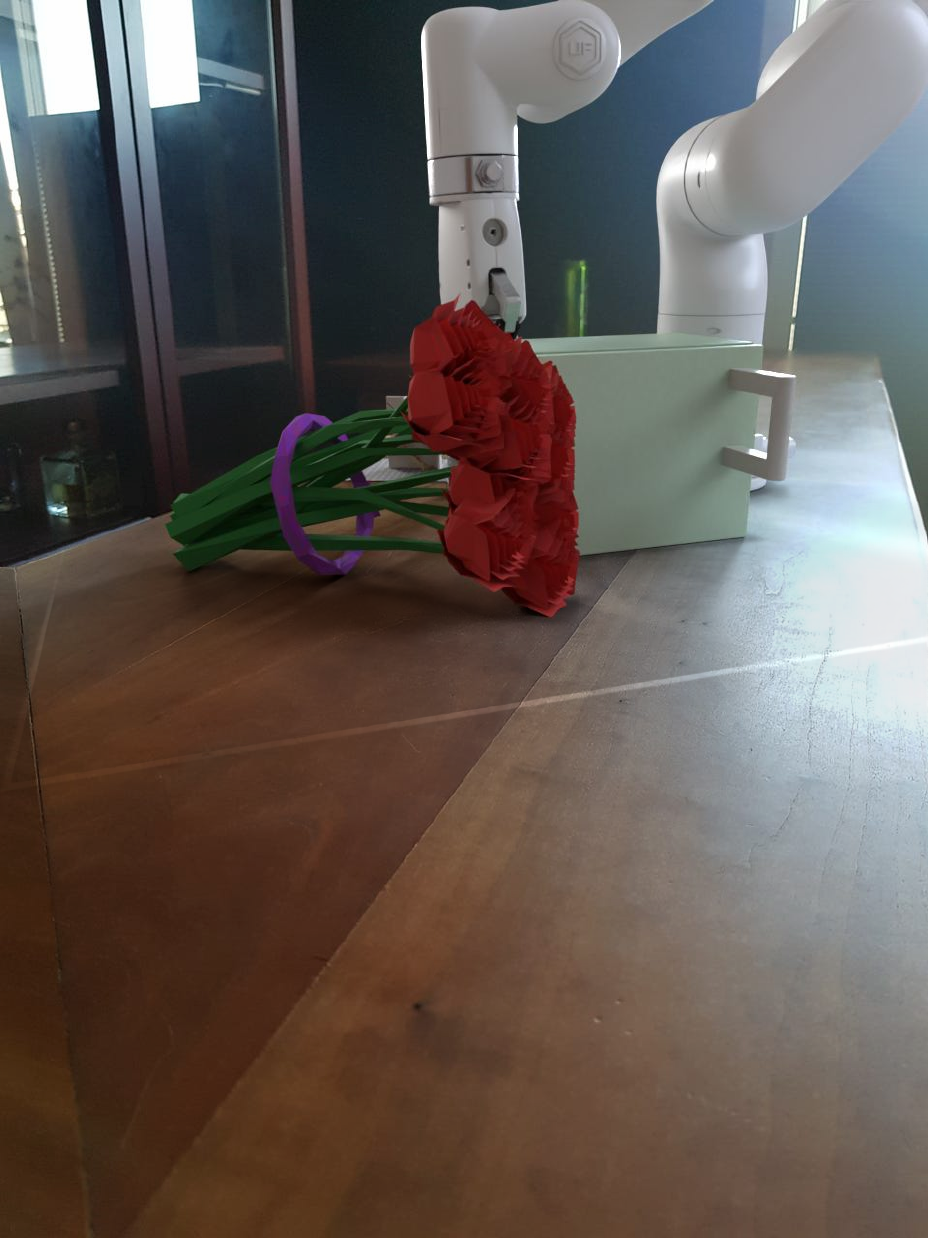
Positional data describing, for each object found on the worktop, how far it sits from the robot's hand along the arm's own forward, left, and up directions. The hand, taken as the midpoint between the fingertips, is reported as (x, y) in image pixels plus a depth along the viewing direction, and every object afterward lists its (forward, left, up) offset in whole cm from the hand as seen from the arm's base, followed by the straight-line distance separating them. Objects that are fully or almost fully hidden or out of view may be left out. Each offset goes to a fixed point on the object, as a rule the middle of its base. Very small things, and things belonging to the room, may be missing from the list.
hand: (481, 392), depth 85 cm
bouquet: (+16, +21, -10) cm, 29 cm away
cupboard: (-5, +15, -9) cm, 18 cm away
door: (-5, +24, -9) cm, 26 cm away
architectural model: (+3, -14, -10) cm, 17 cm away
